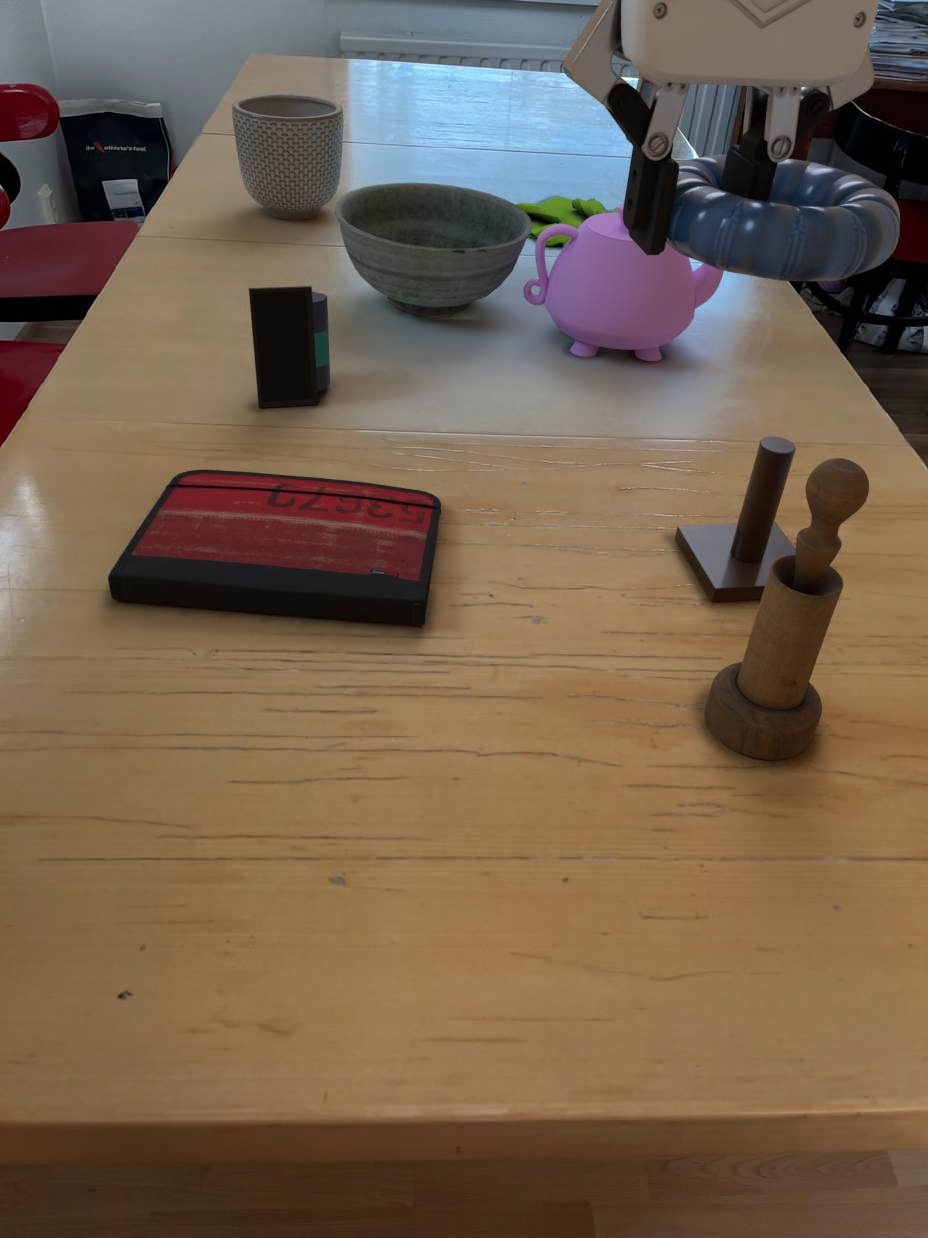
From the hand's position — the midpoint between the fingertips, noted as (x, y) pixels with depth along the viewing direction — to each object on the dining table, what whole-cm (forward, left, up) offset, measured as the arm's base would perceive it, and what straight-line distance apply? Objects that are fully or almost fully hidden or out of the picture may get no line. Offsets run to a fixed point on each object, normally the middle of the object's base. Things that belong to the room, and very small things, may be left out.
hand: (688, 241), depth 46 cm
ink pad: (+16, +19, -28) cm, 37 cm away
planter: (+95, +16, -28) cm, 100 cm away
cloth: (+92, -22, -28) cm, 99 cm away
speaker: (+42, +18, -28) cm, 54 cm away
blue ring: (0, -4, +1) cm, 4 cm away
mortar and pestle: (-5, -9, -28) cm, 29 cm away
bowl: (+63, +2, -28) cm, 69 cm away
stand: (+11, -14, -27) cm, 33 cm away
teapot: (+52, -17, -28) cm, 62 cm away
